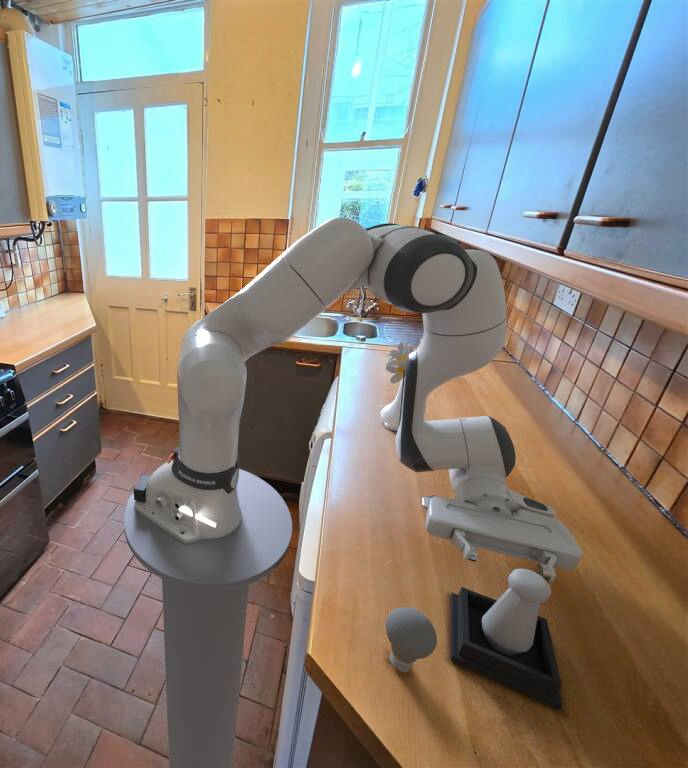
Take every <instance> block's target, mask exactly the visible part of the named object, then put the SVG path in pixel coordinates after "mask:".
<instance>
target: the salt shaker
mask: <svg viewBox="0 0 688 768" xmlns="http://www.w3.org/2000/svg"><path fill="white" fill-rule="evenodd" d="M507 581H508V583H507V584H508V588H507V589H506V590H505V592H503V594H502V595H501V596H500V597H499V598H498V599H496V600H497V601H496V603H495V604H494V605H493V606H492V607H491V608H490V609H489V610H488V611H487V612H486V614H485V615H484V616H483V617H482V628H483V633H484V637H485V638H486V639H487V641H488V642H489V643H490V644H491V646H492V647H493V648H494V649H495V650H498V651H500V652H502V653H505V654H507V655H509V656H511V655H514V654H517V653H522V652H527V651H528V650H529V649H530V648H531V646H532V645H533V640H534V635H535V629H536V623H537V617H538V616H539V611H540V606H541V605H540V604H543V603H546V601H548V599H549V598H550V596H551V595H552V588H551V585H550V584H549V582H548V581H546V580H545V579H544V578H543V577H541V576H540V575H539V574H537V573H536V571H533V570H530V569H526V568H516V569H513V571H511V573H510V574H509V575H508V577H507Z"/></svg>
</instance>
